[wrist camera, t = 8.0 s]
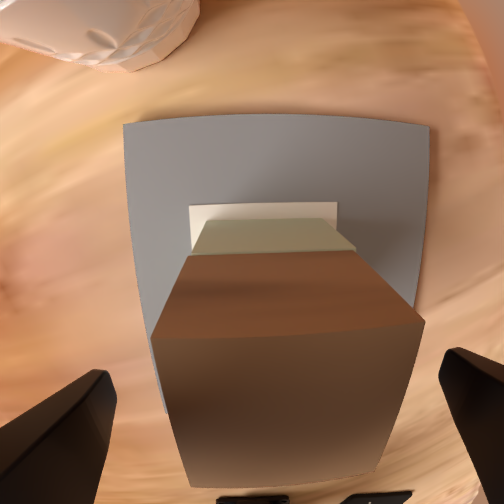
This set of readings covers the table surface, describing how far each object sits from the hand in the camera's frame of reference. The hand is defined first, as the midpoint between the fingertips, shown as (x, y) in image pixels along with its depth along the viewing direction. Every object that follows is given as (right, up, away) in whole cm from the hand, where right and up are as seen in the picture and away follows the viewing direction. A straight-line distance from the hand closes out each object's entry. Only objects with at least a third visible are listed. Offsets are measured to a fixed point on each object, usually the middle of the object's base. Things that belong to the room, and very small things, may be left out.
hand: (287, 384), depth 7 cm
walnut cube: (0, +1, +3) cm, 3 cm away
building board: (+1, +2, +9) cm, 9 cm away
